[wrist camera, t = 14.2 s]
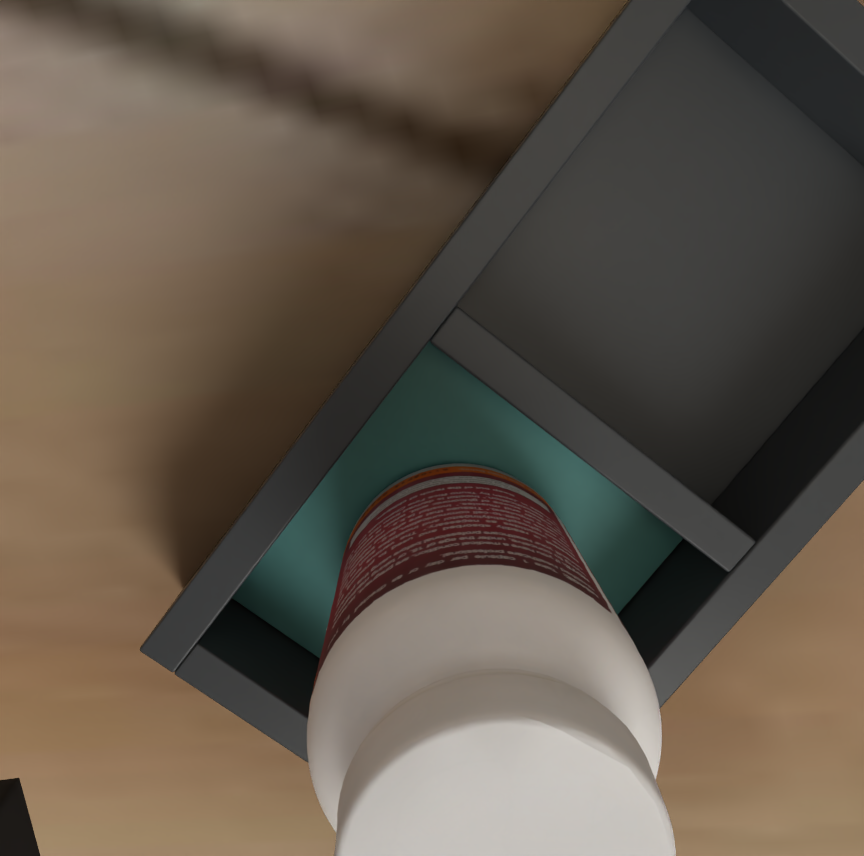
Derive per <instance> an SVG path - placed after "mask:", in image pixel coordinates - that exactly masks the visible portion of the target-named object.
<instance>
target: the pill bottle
mask: <svg viewBox="0 0 864 856" xmlns="http://www.w3.org/2000/svg"><path fill="white" fill-rule="evenodd" d="M661 744H662V728H661V716H660V710H659V703H658V699H657V695H656V691H655V687H654V685H653V682H652V679H651V677H650V674H649V671H648V669H647V667H646V665H645V663H644V661H643V659H642V657H641V655H640V654H639V652H638V650H637V648H636V646H635V644H634V642H633V640H632V638H631V637H630V635H629V633H628V631H627V630H626V628H625V626H624V625H623V623H622V621H621V620H620V618H619V617H618V615H617V614H616V612H615V610H614V609H613V607H612V605H611V603H610V602H609V600H608V599H607V597H606V596H605V594H604V592H603V590H602V588H601V587H600V585H599V583H598V582H597V580H596V578H595V577H594V575H593V573H592V572H591V570H590V568H589V567H588V565H587V563H586V562H585V560H584V558H583V557H582V555H581V553H580V551H579V549H578V548H577V546H576V545H575V543H574V541H573V540H572V538H571V536H570V534H569V533H568V531H567V530H566V528H565V526H564V524H563V523H562V521H561V520H560V519H559V517H558V516H557V515H556V513H555V512H554V510H553V509H552V508H551V507H550V505H549V504H548V503H547V502H546V501H545V499H544V498H543V497H542V496H541V495H540V494H539V493H537V492H536V491H535V490H534V489H532V488H531V487H530V486H528V485H527V484H525V483H524V482H522V481H520V480H518V479H517V478H515V477H513V476H511V475H509V474H507V473H505V472H502V471H499V470H497V469H494V468H490V467H486V466H481V465H475V464H463V463H453V464H443V465H436V466H432V467H428V468H424V469H421V470H419V471H416V472H413V473H411V474H409V475H407V476H405V477H403V478H401V479H399V480H397V481H396V482H394V483H393V484H391V485H390V486H388V487H387V488H386V489H384V490H383V491H382V492H381V493H380V494H379V495H378V496H376V497H375V498H374V499H373V501H372V502H371V503H370V504H369V505H368V506H367V508H366V509H365V510H364V512H363V513H362V514H361V516H360V517H359V519H358V521H357V522H356V524H355V526H354V528H353V530H352V532H351V534H350V537H349V540H348V542H347V546H346V549H345V552H344V555H343V560H342V564H341V569H340V573H339V578H338V582H337V587H336V591H335V596H334V600H333V604H332V608H331V613H330V618H329V622H328V626H327V629H326V635H325V639H324V644H323V648H322V652H321V656H320V660H319V665H318V670H317V674H316V678H315V683H314V688H313V692H312V696H311V700H310V707H309V716H308V723H307V754H308V763H309V769H310V774H311V778H312V782H313V786H314V789H315V792H316V795H317V798H318V800H319V803H320V805H321V807H322V809H323V812H324V814H325V815H326V817H327V819H328V821H329V822H330V824H331V826H332V827H333V829H334V830H335V832H336V845H335V854H334V856H676V849H675V840H674V834H673V829H672V824H671V821H670V818H669V815H668V811H667V809H666V806H665V803H664V801H663V798H662V796H661V793H660V790H659V788H658V785H657V783H656V776H657V772H658V767H659V763H660V756H661Z"/></svg>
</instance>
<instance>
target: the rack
mask: <svg viewBox="0 0 864 856" xmlns="http://www.w3.org/2000/svg"><path fill="white" fill-rule="evenodd" d="M453 463H463V464H475V465H481V466H486V467H490V468H494V469H497V470H499V471H502V472H505V473H507V474H509V475H511V476H513V477H515V478H517V479H518V480H520V481H522V482H524V483H525V484H527V485H528V486H530V487H531V488H532V489H534V490H535V491H536V492H537V493H539V494H540V495H541V496H542V497H543V498H544V499H545V501H546V502H547V503H548V504H549V505H550V507H551V508H552V509H553V510H554V512H555V513H556V515H557V516H558V517H559V519H560V520H561V521H562V523H563V524H564V526H565V528H566V530H567V531H568V533H569V534H570V536H571V538H572V540H573V541H574V543H575V545H576V546H577V548H578V549H579V551H580V553H581V555H582V557H583V558H584V560H585V562H586V563H587V565H588V567H589V568H590V570H591V572H592V573H593V575H594V577H595V578H596V580H597V582H598V583H599V585H600V587H601V588H602V590H603V592H604V594H605V596H606V597H607V599H608V600H609V602H610V603H611V605H612V607H613V609H614V610H615V612H616V614H617V615H618V617H619V618H620V620H621V621H622V623H623V625H624V626H625V628H626V630H627V631H628V633H629V635H630V637H631V638H632V640H633V642H634V644H635V646H636V648H637V650H638V652H639V654H640V655H641V657H642V659H643V661H644V663H645V665H646V667H647V669H648V671H649V674H650V677H651V679H652V682H653V685H654V687H655V691H656V695H657V699H658V703H659V709H660V708H661V706H662V705H663V704H664V703H665V702H666V701H667V700H668V699H669V698H670V696H671V695H672V694H673V693H674V692H675V691H676V690H677V689H678V687H679V686H680V685H681V684H682V683H683V682H684V681H685V680H686V678H687V677H688V676H689V675H690V674H691V673H692V672H693V671H694V669H695V668H696V667H697V666H698V665H699V664H700V663H701V662H702V661H703V659H704V658H705V657H706V656H707V655H708V654H709V653H710V652H711V650H712V649H713V648H714V647H715V646H716V645H717V644H718V643H719V641H720V640H721V639H722V638H723V637H724V636H725V635H726V634H727V632H728V631H729V630H730V629H731V628H732V627H733V626H734V625H735V624H736V622H737V621H738V620H739V619H740V618H741V617H742V616H743V615H744V613H745V612H746V611H747V610H748V609H749V608H750V607H751V606H752V604H753V603H754V602H755V601H756V600H757V599H758V598H759V597H760V595H761V594H762V593H763V592H764V591H765V590H766V589H767V588H768V587H769V585H770V584H771V583H772V582H773V581H774V580H775V579H776V578H777V576H778V575H779V574H780V573H781V572H782V571H783V570H784V569H785V567H786V566H787V565H788V564H789V563H790V562H791V561H792V560H793V558H794V557H795V556H796V555H797V554H798V553H799V552H800V551H801V550H802V548H803V547H804V546H805V545H806V544H807V543H808V542H809V541H810V539H811V538H812V537H813V536H814V535H815V534H816V533H817V532H818V530H819V529H820V528H821V527H822V526H823V525H824V524H825V523H826V521H827V520H828V519H829V518H830V517H831V516H832V515H833V514H834V513H835V511H836V510H837V509H838V508H839V507H840V506H841V505H842V504H843V502H844V501H845V500H846V499H847V498H848V497H849V496H850V495H851V493H852V492H853V491H854V490H855V489H856V488H857V487H858V486H859V484H860V483H861V482H862V481H863V480H864V7H863V6H862V5H861V4H860V3H859V2H858V1H857V0H628V2H627V3H626V4H625V6H624V7H623V8H622V9H621V11H620V12H619V13H618V15H617V16H616V17H615V19H614V20H613V21H612V23H611V24H610V25H609V27H608V28H607V29H606V31H605V32H604V33H603V35H602V36H601V37H600V39H599V40H598V41H597V43H596V44H595V45H594V47H593V48H592V49H591V50H590V52H589V53H588V54H587V56H586V57H585V58H584V60H583V61H582V62H581V64H580V65H579V66H578V68H577V69H576V70H575V72H574V73H573V74H572V76H571V77H570V78H569V80H568V81H567V82H566V84H565V85H564V86H563V87H562V89H561V90H560V91H559V93H558V94H557V95H556V97H555V98H554V99H553V101H552V102H551V103H550V105H549V106H548V107H547V109H546V110H545V111H544V113H543V114H542V115H541V117H540V118H539V119H538V121H537V122H536V123H535V125H534V126H533V127H532V128H531V130H530V131H529V132H528V134H527V135H526V136H525V138H524V139H523V140H522V142H521V143H520V144H519V146H518V147H517V148H516V150H515V151H514V152H513V154H512V155H511V156H510V158H509V159H508V160H507V162H506V163H505V164H504V166H503V167H502V168H501V169H500V171H499V172H498V173H497V175H496V176H495V177H494V179H493V180H492V181H491V183H490V184H489V185H488V187H487V188H486V189H485V191H484V192H483V193H482V195H481V196H480V197H479V199H478V200H477V201H476V203H475V204H474V205H473V207H472V208H471V209H470V210H469V212H468V213H467V214H466V216H465V217H464V218H463V220H462V221H461V222H460V224H459V225H458V226H457V228H456V229H455V230H454V232H453V233H452V234H451V236H450V237H449V238H448V240H447V241H446V242H445V244H444V245H443V246H442V248H441V249H440V250H439V251H438V253H437V254H436V255H435V257H434V258H433V259H432V261H431V262H430V263H429V265H428V266H427V267H426V269H425V270H424V271H423V273H422V274H421V275H420V277H419V278H418V279H417V281H416V282H415V283H414V285H413V286H412V287H411V288H410V290H409V291H408V292H407V294H406V295H405V296H404V298H403V299H402V300H401V302H400V303H399V304H398V306H397V307H396V308H395V310H394V311H393V312H392V314H391V315H390V316H389V318H388V319H387V320H386V322H385V323H384V324H383V326H382V327H381V328H380V329H379V331H378V332H377V333H376V335H375V336H374V337H373V339H372V340H371V341H370V343H369V344H368V345H367V347H366V348H365V349H364V351H363V352H362V353H361V355H360V356H359V357H358V359H357V360H356V361H355V363H354V364H353V365H352V367H351V368H350V369H349V370H348V372H347V373H346V374H345V376H344V377H343V378H342V380H341V381H340V382H339V384H338V385H337V386H336V388H335V389H334V390H333V392H332V393H331V394H330V396H329V397H328V398H327V400H326V401H325V402H324V404H323V405H322V406H321V408H320V409H319V410H318V411H317V413H316V414H315V415H314V417H313V418H312V419H311V421H310V422H309V423H308V425H307V426H306V427H305V429H304V430H303V431H302V433H301V434H300V435H299V437H298V438H297V439H296V441H295V442H294V443H293V445H292V446H291V447H290V449H289V450H288V451H287V452H286V454H285V455H284V456H283V458H282V459H281V460H280V462H279V463H278V464H277V466H276V467H275V468H274V470H273V471H272V472H271V474H270V475H269V476H268V478H267V479H266V480H265V482H264V483H263V484H262V486H261V487H260V488H259V490H258V491H257V492H256V493H255V495H254V496H253V497H252V499H251V500H250V501H249V503H248V504H247V505H246V507H245V508H244V509H243V511H242V512H241V513H240V515H239V516H238V517H237V519H236V520H235V521H234V523H233V524H232V525H231V527H230V528H229V529H228V530H227V532H226V533H225V534H224V536H223V537H222V538H221V540H220V541H219V542H218V544H217V545H216V546H215V548H214V549H213V550H212V552H211V553H210V554H209V556H208V557H207V558H206V560H205V561H204V562H203V564H202V565H201V566H200V568H199V569H198V570H197V571H196V573H195V574H194V575H193V577H192V578H191V579H190V581H189V582H188V583H187V585H186V586H185V587H184V589H183V590H182V591H181V593H180V594H179V595H178V597H177V598H176V600H175V601H174V602H173V604H172V605H171V606H170V608H169V609H168V610H167V612H166V613H165V615H164V616H163V617H162V619H161V620H160V621H159V623H158V624H157V626H156V627H155V628H154V630H153V631H152V632H151V634H150V635H149V636H148V638H147V639H146V641H145V642H144V643H143V645H142V646H141V647H140V651H141V652H142V653H144V654H145V655H147V656H148V657H150V658H151V659H153V660H154V661H156V662H157V663H159V664H160V665H162V666H164V667H165V668H167V669H168V670H170V671H171V672H174V671H175V675H177V676H178V677H180V678H181V679H183V680H184V681H186V682H187V683H189V684H190V685H192V686H193V687H195V688H196V689H198V690H199V691H201V692H202V693H204V694H205V695H207V696H208V697H210V698H211V699H213V700H214V701H216V702H217V703H219V704H220V705H222V706H223V707H225V708H226V709H228V710H229V711H231V712H232V713H234V714H236V715H237V716H239V717H240V718H242V719H243V720H245V721H246V722H248V723H249V724H251V725H252V726H254V727H255V728H257V729H258V730H260V731H261V732H263V733H264V734H266V735H267V736H269V737H270V738H272V739H273V740H275V741H276V742H278V743H279V744H281V745H282V746H284V747H285V748H287V749H288V750H290V751H291V752H293V753H294V754H296V755H297V756H299V757H300V758H302V759H303V760H305V761H306V762H308V754H307V723H308V716H309V707H310V700H311V696H312V692H313V688H314V683H315V678H316V674H317V670H318V665H319V660H320V656H321V652H322V648H323V644H324V639H325V635H326V629H327V626H328V622H329V618H330V613H331V608H332V604H333V600H334V596H335V591H336V587H337V582H338V578H339V573H340V569H341V564H342V560H343V555H344V552H345V549H346V546H347V542H348V540H349V537H350V534H351V532H352V530H353V528H354V526H355V524H356V522H357V521H358V519H359V517H360V516H361V514H362V513H363V512H364V510H365V509H366V508H367V506H368V505H369V504H370V503H371V502H372V501H373V499H374V498H375V497H376V496H378V495H379V494H380V493H381V492H382V491H383V490H384V489H386V488H387V487H388V486H390V485H391V484H393V483H394V482H396V481H397V480H399V479H401V478H403V477H405V476H407V475H409V474H411V473H413V472H416V471H419V470H421V469H424V468H428V467H432V466H436V465H443V464H453Z"/></svg>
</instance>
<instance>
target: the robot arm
mask: <svg viewBox="0 0 864 856" xmlns="http://www.w3.org/2000/svg"><path fill="white" fill-rule="evenodd" d="M0 856H40V853H39V849H38V846H37V842H36V838H35V835H34V831H33V827H32V823H31V820H30V816H29V812H28V809H27V805H26V801H25V798H24V794H23V790H22V787H21V783H20V779H19V778H14V779H7V780H0Z"/></svg>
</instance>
